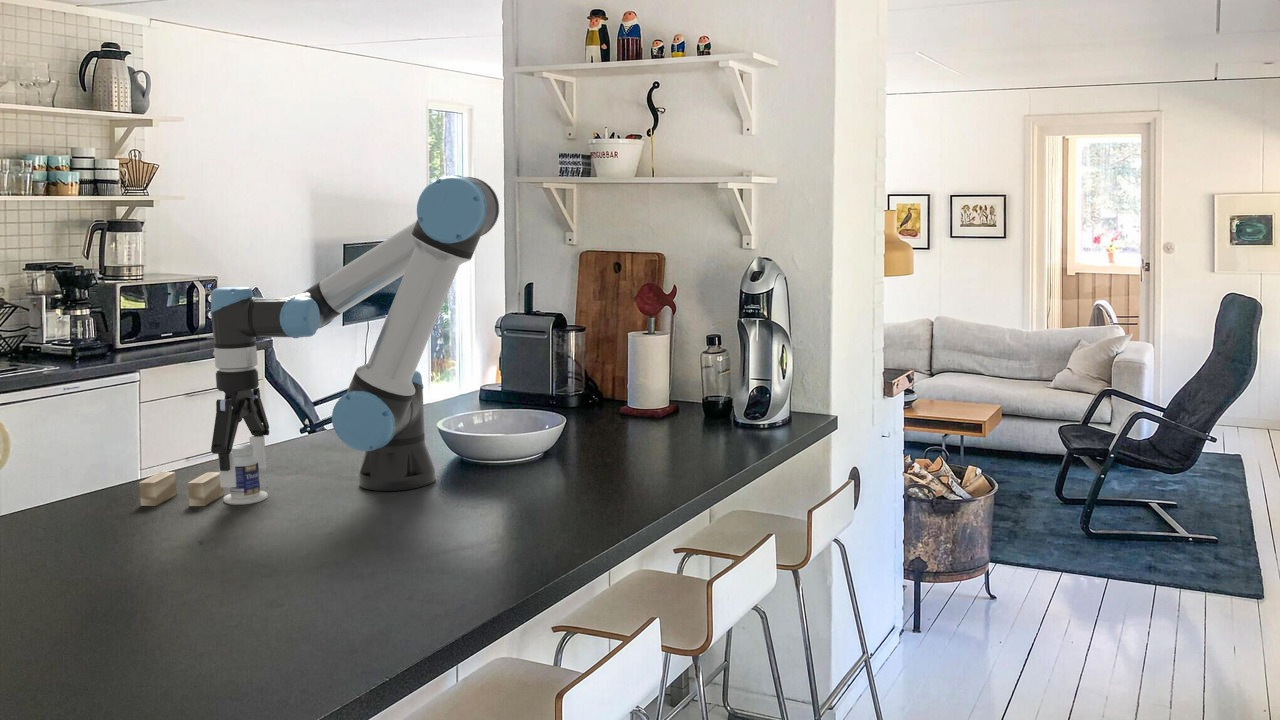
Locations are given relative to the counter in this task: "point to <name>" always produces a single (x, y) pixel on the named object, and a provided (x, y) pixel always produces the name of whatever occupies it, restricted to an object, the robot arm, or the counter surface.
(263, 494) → the pad
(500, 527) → the counter surface
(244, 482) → the pill bottle
